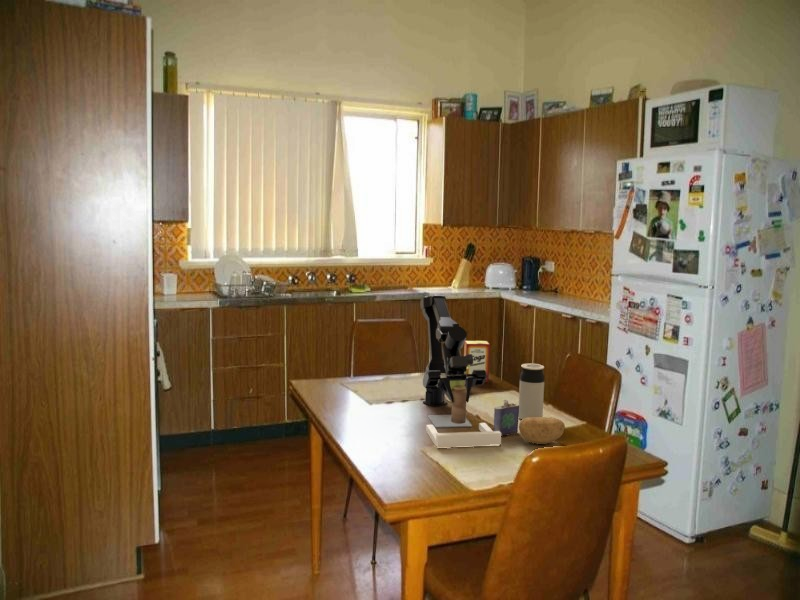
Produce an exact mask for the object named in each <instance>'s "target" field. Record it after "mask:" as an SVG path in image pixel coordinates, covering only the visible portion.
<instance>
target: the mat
mask: <svg viewBox="0 0 800 600" xmlns="http://www.w3.org/2000/svg"><path fill="white" fill-rule="evenodd" d="M427 418H428V419H429V421H430V422H431V425H432V424H433V426H434V427H435V429H440V428H441V429H442V428H443V429H445V428H446V429H447V428H448V429H449V428H470V427H471V428H473V425H472V424H471V422H470V421H469V419H467V418H466V422H465V423H463V424H456V423H452V422H451V414H430V415H429V414H428V415H427Z"/></svg>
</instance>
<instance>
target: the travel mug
mask: <svg viewBox="0 0 800 600" xmlns="http://www.w3.org/2000/svg"><path fill="white" fill-rule="evenodd" d="M544 369H545V366H544V365H541V364H539V363H522V364H521V372H520V374H519V389H518V390H519V391H518V394H519V395H518V405H519V418H518V419H519V420H521V419H524V418H529V417H544V416H543V415H544V414H543V413H544V395H545V393H544V392H545V375H544V373H543V372H544Z"/></svg>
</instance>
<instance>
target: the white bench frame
mask: <svg viewBox="0 0 800 600" xmlns="http://www.w3.org/2000/svg"><path fill="white" fill-rule="evenodd" d="M478 430H479V431H459V432H439V431H437V428H435V427H434V425H433V424H432V423H431V424H425V432H426V434H427V435H428V436H429V437H430V440H431V442H432V443H433V444H434V445H436V446H437V447H456V446H472V445H490V444H501V445H502V437H501V432H500V431H493V430H492V428H491V427H490V426H489V425H488V424H487V422H479V423H478ZM436 446H435V447H436ZM437 447H436V448H437Z"/></svg>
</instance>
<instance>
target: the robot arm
mask: <svg viewBox="0 0 800 600" xmlns="http://www.w3.org/2000/svg"><path fill="white" fill-rule="evenodd" d="M446 299H447V298H446V296H445V295H443V294H432V295H429V296H428V295H424V296H423V297H422V298H421V299H420V304H419V305H420V310H422V316H423V317H424V319H425V320H426V323H427V335H428V348H429V349H428V352H429V361H428V363H427V365H426V368H425V371H424V375H423V377H422V386H423V387H424V389H426V390H425V400H424V401H422V404H426V405H428V406H432V407H440V406H444V405H447V404H448V402H447V401H445V395H446V397H447V399H448V400H449V401H450V402H451V404H452V403H453V402H454V401H453V395H452V390H451V387H450V381H465V382H464V386H465V387H466V389H467V396H466V404H467V403H468V404H469V401H470V395H471V391H472V390H471V389H472V388H474V387H476V386H484V385H485V383H486V382H485V380H486V378H487V372H486V371H485V370H484V369H483V370H473V372H472V374H465V373H464V372H466V370H467V369H466V367H468V365H472V364H473V356H472V354H467V355H465V356H464V355H462V352H461V349H463V348H464V342H465V341H466V340H467V336H468V334H467V333H468V332H467V331H466V330H465V328H463V326H460V324H459V323H457V321H456V320H453V318H452V317H451V315H450V311H449V309H448V306H447V300H446ZM442 343H443V344H442Z"/></svg>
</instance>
